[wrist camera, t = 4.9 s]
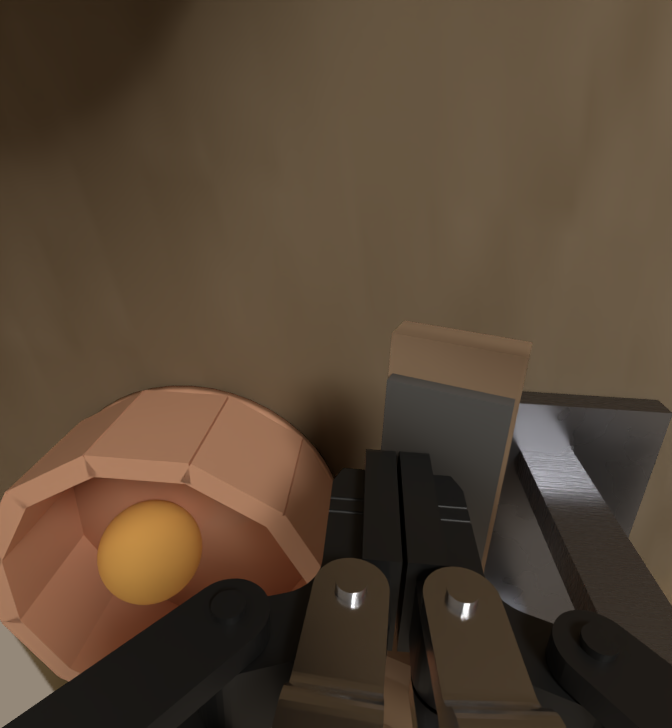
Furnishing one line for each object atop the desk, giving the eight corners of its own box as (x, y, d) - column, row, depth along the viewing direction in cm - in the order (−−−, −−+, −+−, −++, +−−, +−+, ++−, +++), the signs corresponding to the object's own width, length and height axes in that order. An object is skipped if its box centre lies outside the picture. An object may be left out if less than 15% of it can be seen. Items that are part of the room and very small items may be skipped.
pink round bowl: (40, 375, 20) (-60, 444, 16) (348, 396, 20) (339, 474, 15) (90, 598, 25) (27, 699, 21) (336, 620, 25) (327, 730, 20)
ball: (122, 568, 17) (218, 510, 20) (70, 512, 19) (163, 468, 22) (137, 648, 19) (224, 584, 21) (87, 588, 21) (172, 537, 24)
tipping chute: (441, 283, 16) (367, 357, 10) (1021, 364, 11) (1471, 581, 5) (399, 619, 22) (339, 779, 16) (761, 761, 17) (850, 1054, 12)
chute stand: (444, 386, 19) (502, 589, 10) (658, 400, 19) (904, 624, 10) (409, 636, 25) (427, 903, 16) (572, 651, 24) (682, 933, 16)
